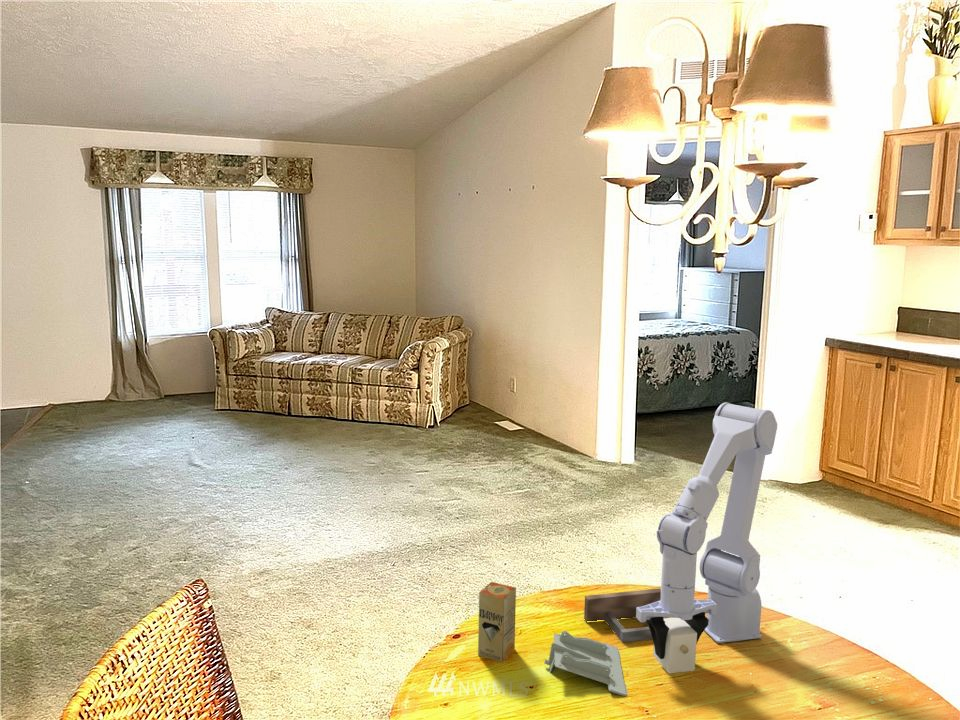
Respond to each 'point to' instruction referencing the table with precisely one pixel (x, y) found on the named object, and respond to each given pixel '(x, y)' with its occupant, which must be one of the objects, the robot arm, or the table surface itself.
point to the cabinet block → (679, 647)
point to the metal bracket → (588, 660)
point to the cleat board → (621, 611)
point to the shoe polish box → (496, 621)
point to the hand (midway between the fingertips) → (674, 654)
